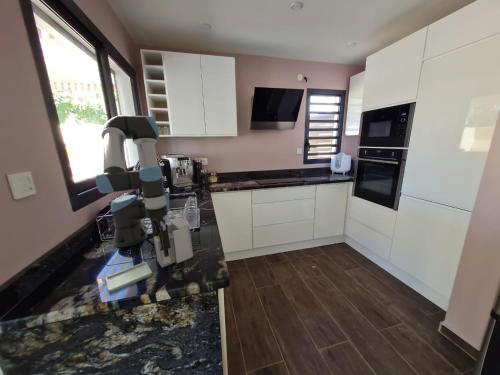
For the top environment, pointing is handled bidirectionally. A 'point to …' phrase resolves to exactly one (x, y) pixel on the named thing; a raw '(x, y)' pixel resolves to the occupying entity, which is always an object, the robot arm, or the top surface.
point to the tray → (127, 277)
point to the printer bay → (181, 239)
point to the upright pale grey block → (158, 247)
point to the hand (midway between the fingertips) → (164, 259)
